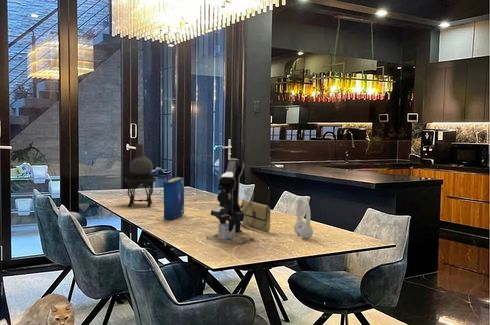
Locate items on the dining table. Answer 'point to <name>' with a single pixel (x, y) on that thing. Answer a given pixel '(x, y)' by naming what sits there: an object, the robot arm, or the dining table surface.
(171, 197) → the book
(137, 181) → the brazier
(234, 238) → the offcut top
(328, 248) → the dining table surface
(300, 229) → the headphones
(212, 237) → the light wood flat frame
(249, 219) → the clutch purse
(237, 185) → the robot arm
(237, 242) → the block
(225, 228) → the medicine box
